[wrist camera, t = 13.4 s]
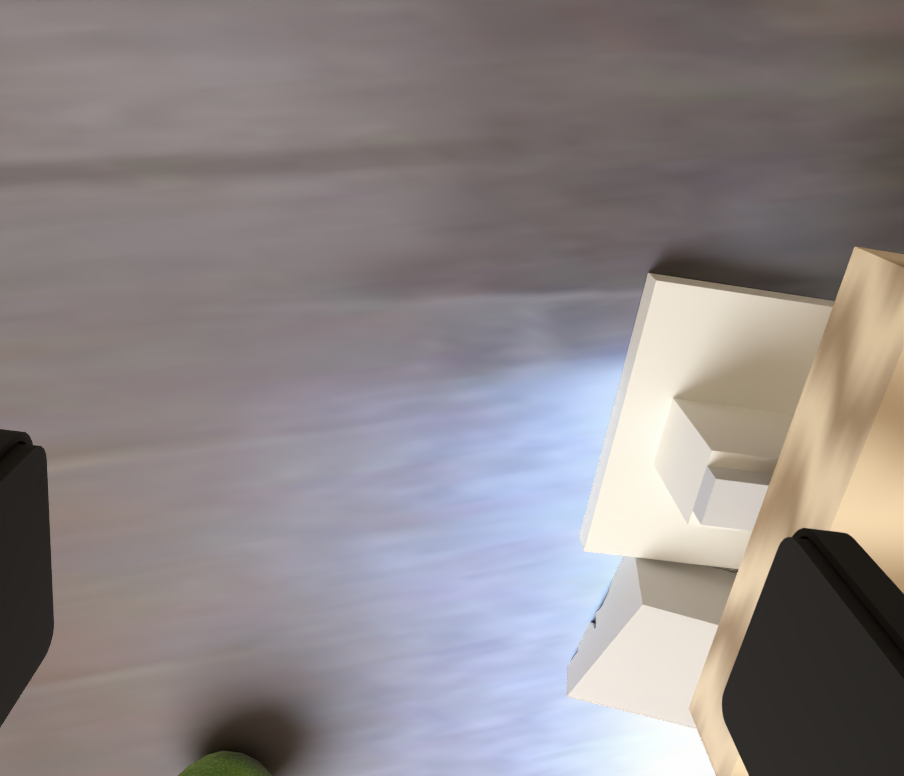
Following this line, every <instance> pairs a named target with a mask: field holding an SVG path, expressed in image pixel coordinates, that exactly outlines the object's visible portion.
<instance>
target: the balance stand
mask: <svg viewBox="0 0 904 776" xmlns="http://www.w3.org/2000/svg"><path fill="white" fill-rule="evenodd" d="M834 302H835V301H831V300H824V299H818V298H811V297H804V296H798V295H791V294H785V293H778V292H771V291H765V290H758V289H752V288H745V287H739V286H732V285H725V284H719V283H712V282H706V281H699V280H692V279H686V278H679V277H673V276H666V275H659V274H653V273H648V275H647V279H646V283H645V287H644V290H643V294H642V298H641V302H640V306H639V310H638V313H637V317H636V321H635V325H634V329H633V333H632V336H631V340H630V344H629V348H628V352H627V355H626V359H625V363H624V367H623V371H622V375H621V378H620V382H619V386H618V390H617V394H616V398H615V401H614V405H613V409H612V413H611V417H610V420H609V424H608V428H607V432H606V436H605V440H604V443H603V447H602V451H601V455H600V459H599V463H598V466H597V470H596V474H595V478H594V482H593V485H592V489H591V493H590V497H589V501H588V505H587V508H586V512H585V516H584V520H583V524H582V528H581V531H580V535H579V537H580V540H581V543H582V547H583V550H584V551H586V552H595V553H603V554H612V555H621V556H629V557H638V558H646V559H655V560H664V561H672V562H681V563H689V564H698V565H707V566H715V567H724V568H732V569H739V567H740V564H741V561H742V559H743V556H744V553H745V550H746V547H747V545H748V542H749V539H750V536H751V533H752V531H753V528H754V525H755V522H756V520H757V517H758V514H759V511H760V508H761V506H762V503H763V500H764V497H765V495H766V492H767V489H768V486H769V483H770V481H771V478H772V475H773V472H774V469H775V467H776V464H777V461H778V458H779V456H780V453H781V450H782V447H783V444H784V442H785V439H786V436H787V433H788V431H789V428H790V425H791V422H792V419H793V417H794V414H795V411H796V408H797V405H798V403H799V400H800V397H801V394H802V392H803V389H804V386H805V383H806V380H807V378H808V375H809V372H810V369H811V366H812V364H813V361H814V358H815V355H816V353H817V350H818V347H819V344H820V341H821V339H822V336H823V333H824V330H825V328H826V325H827V322H828V319H829V316H830V314H831V311H832V308H833V305H834Z"/></svg>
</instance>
